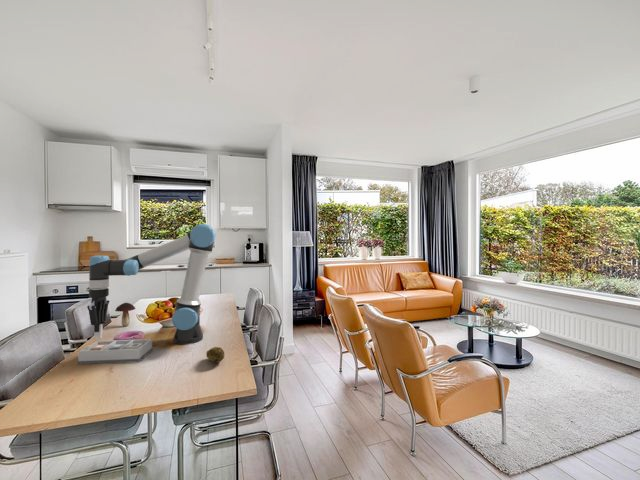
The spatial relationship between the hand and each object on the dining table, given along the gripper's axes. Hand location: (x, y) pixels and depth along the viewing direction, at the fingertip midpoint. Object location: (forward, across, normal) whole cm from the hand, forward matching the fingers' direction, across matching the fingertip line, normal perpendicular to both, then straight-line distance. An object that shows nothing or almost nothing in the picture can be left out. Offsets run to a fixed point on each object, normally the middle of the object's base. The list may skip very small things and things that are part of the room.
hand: (98, 338), depth 141 cm
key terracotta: (+6, 0, 0) cm, 6 cm away
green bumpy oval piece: (+9, +12, +56) cm, 58 cm away
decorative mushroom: (+10, -51, -14) cm, 54 cm away
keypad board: (+9, 0, +8) cm, 12 cm away
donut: (+10, -19, +4) cm, 22 cm away
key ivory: (+6, 0, +16) cm, 18 cm away
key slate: (+6, 0, +8) cm, 11 cm away
